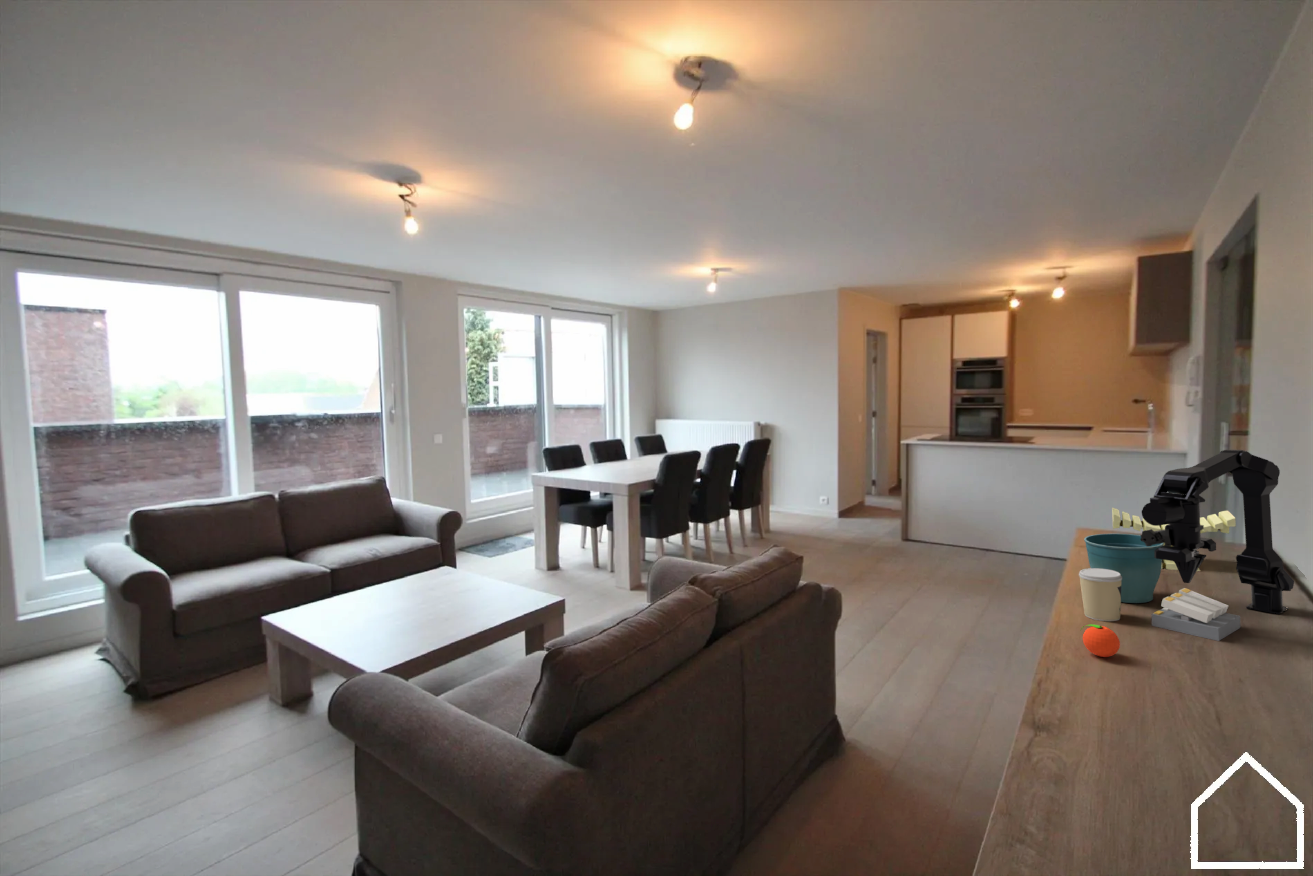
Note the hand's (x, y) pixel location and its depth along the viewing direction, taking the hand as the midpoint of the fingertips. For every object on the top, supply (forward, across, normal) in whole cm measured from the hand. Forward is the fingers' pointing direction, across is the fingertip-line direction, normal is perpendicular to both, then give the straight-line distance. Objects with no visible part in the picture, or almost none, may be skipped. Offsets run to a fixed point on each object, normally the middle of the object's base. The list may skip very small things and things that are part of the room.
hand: (1186, 582), depth 148 cm
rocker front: (+6, +3, +1) cm, 7 cm away
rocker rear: (+6, -6, +1) cm, 8 cm away
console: (+11, -2, +1) cm, 11 cm away
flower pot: (+12, -14, -19) cm, 26 cm away
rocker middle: (+6, -2, +1) cm, 6 cm away
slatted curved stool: (+11, -60, -25) cm, 66 cm away
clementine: (+12, +32, -5) cm, 35 cm away
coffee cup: (+12, +6, -16) cm, 21 cm away
